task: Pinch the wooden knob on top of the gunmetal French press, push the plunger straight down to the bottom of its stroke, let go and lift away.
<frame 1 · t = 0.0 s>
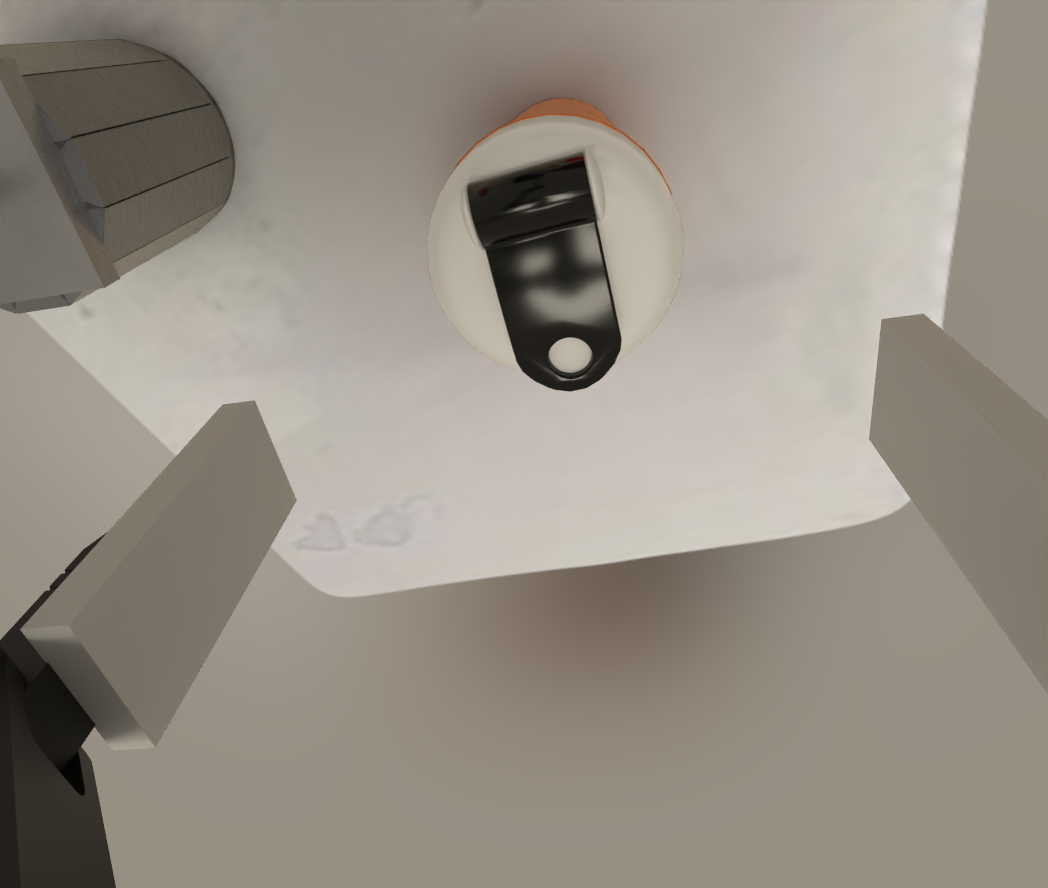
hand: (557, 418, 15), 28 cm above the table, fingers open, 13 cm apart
faceted grey canister: (146, 143, 39), on the table
shaker bottle: (560, 167, 39), on the table
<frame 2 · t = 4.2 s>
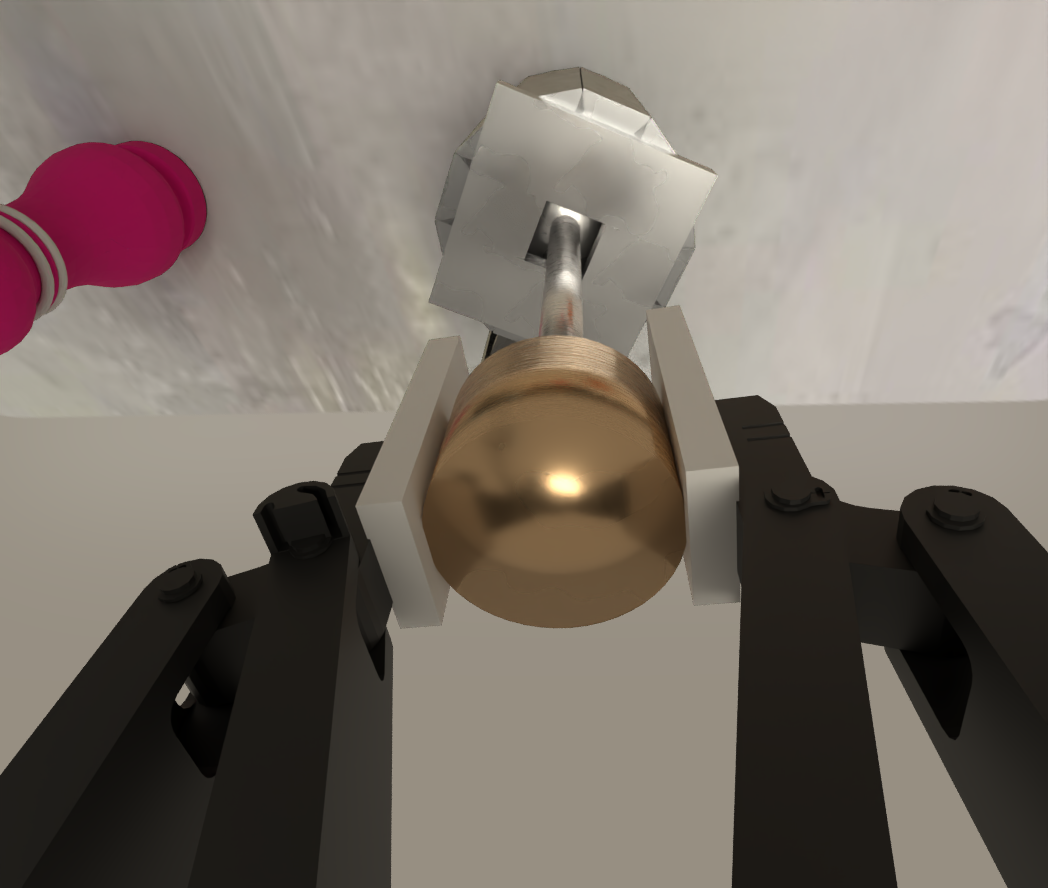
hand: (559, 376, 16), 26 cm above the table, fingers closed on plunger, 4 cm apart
faceted grey canister: (567, 171, 38), on the table
pepper mill: (156, 197, 41), on the table
plunger: (561, 313, 20), point 22 cm above the table, slide at 0.0 cm, touching gripper
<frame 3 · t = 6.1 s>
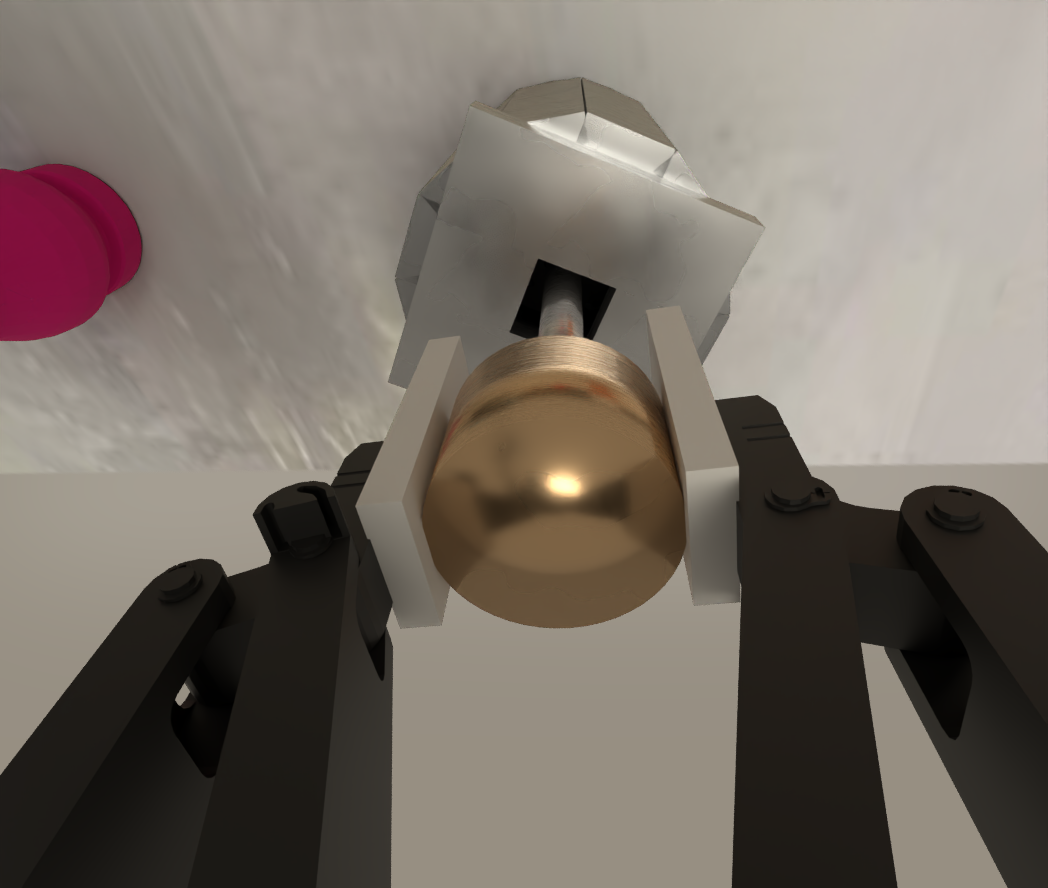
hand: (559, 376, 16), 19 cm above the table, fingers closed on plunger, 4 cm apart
faceted grey canister: (565, 200, 32), on the table
pepper mill: (82, 228, 35), on the table
plunger: (561, 313, 20), point 14 cm above the table, slide at 7.2 cm, touching gripper
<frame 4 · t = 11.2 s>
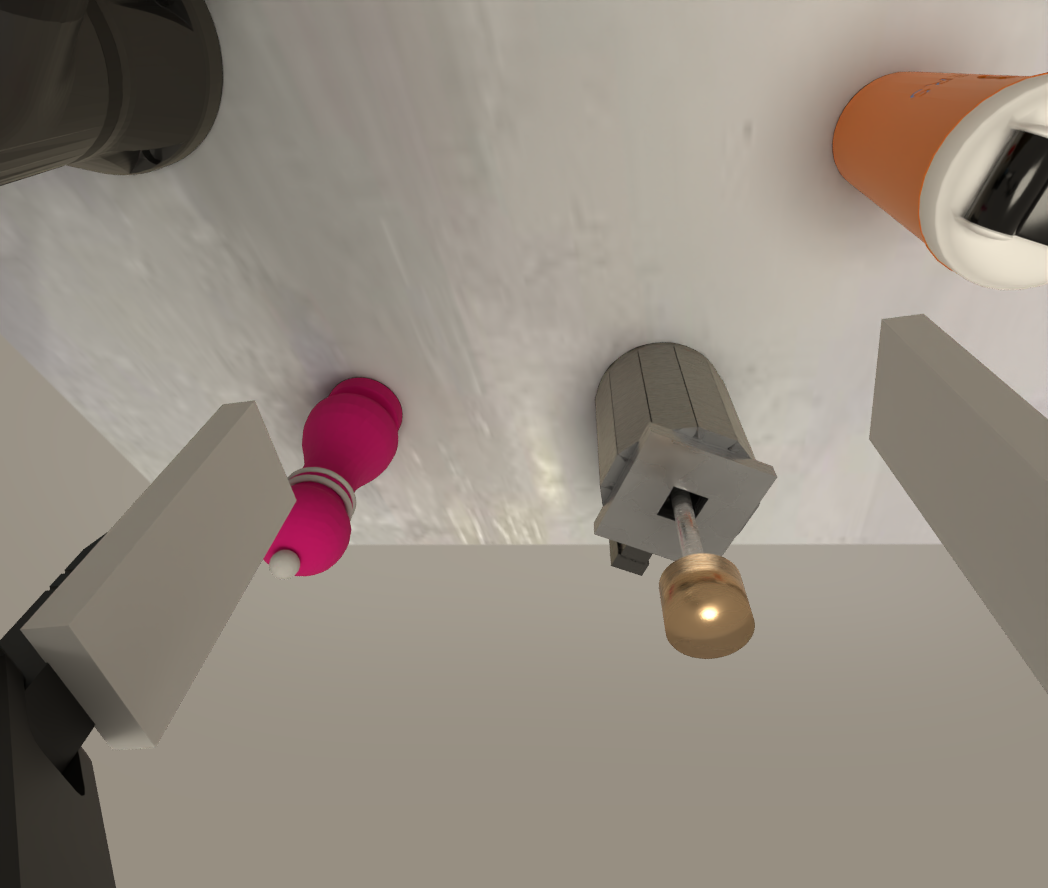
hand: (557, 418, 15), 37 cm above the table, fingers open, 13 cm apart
faceted grey canister: (658, 400, 55), on the table
shaker bottle: (887, 133, 45), on the table
pepper mill: (366, 409, 58), on the table
plunger: (682, 508, 43), point 14 cm above the table, slide at 7.2 cm
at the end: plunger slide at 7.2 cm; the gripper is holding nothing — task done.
